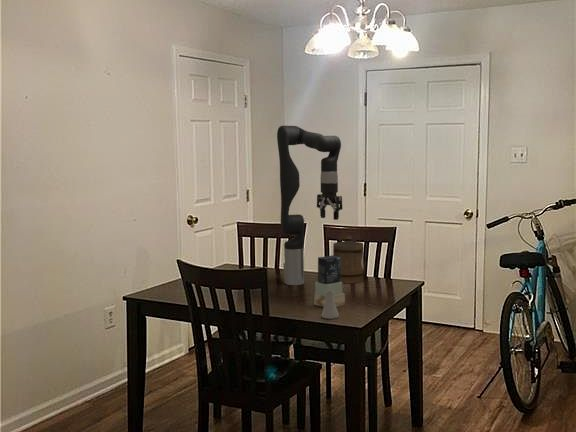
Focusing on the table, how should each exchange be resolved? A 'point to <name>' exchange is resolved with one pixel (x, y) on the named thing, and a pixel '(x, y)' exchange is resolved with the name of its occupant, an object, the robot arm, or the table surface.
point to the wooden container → (350, 260)
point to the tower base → (321, 300)
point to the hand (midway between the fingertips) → (329, 218)
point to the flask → (330, 307)
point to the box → (328, 269)
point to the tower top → (328, 288)
